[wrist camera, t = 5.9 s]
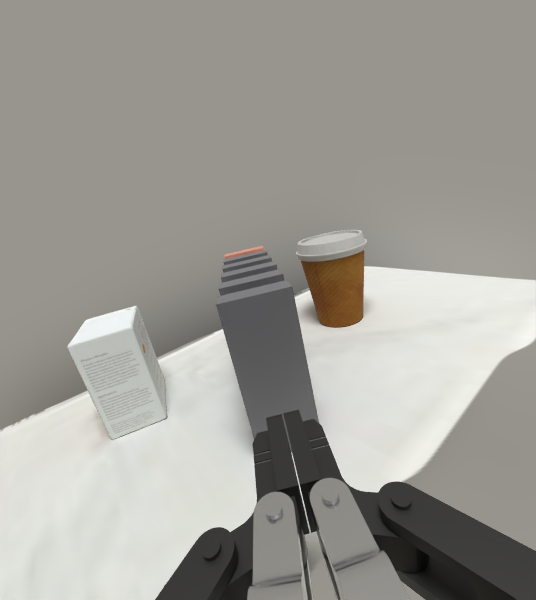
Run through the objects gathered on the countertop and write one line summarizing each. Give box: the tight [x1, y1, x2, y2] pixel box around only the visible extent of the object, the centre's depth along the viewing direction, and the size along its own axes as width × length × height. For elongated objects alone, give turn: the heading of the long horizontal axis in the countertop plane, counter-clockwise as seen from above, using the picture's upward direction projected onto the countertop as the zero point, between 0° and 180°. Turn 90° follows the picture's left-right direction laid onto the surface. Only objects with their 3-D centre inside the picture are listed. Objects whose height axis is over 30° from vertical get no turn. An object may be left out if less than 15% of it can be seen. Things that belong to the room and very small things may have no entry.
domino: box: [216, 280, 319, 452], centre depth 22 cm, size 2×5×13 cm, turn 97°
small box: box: [67, 306, 167, 440], centre depth 32 cm, size 8×6×10 cm
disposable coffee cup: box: [296, 230, 367, 327], centre depth 42 cm, size 10×10×12 cm
